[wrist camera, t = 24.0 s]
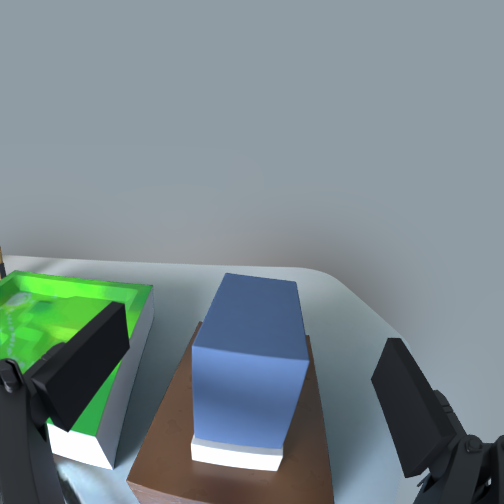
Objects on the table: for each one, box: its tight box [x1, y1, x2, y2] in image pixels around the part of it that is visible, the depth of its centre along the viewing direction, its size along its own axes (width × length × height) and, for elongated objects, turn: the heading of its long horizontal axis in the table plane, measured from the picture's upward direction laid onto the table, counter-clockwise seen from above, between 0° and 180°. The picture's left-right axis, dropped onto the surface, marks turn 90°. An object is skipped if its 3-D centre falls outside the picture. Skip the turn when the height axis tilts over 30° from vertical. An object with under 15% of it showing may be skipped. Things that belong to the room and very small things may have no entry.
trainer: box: [191, 273, 310, 471], centre depth 18 cm, size 5×14×9 cm, turn 176°
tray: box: [0, 270, 154, 470], centre depth 23 cm, size 25×25×5 cm
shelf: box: [126, 322, 334, 504], centre depth 20 cm, size 12×20×5 cm, turn 176°
